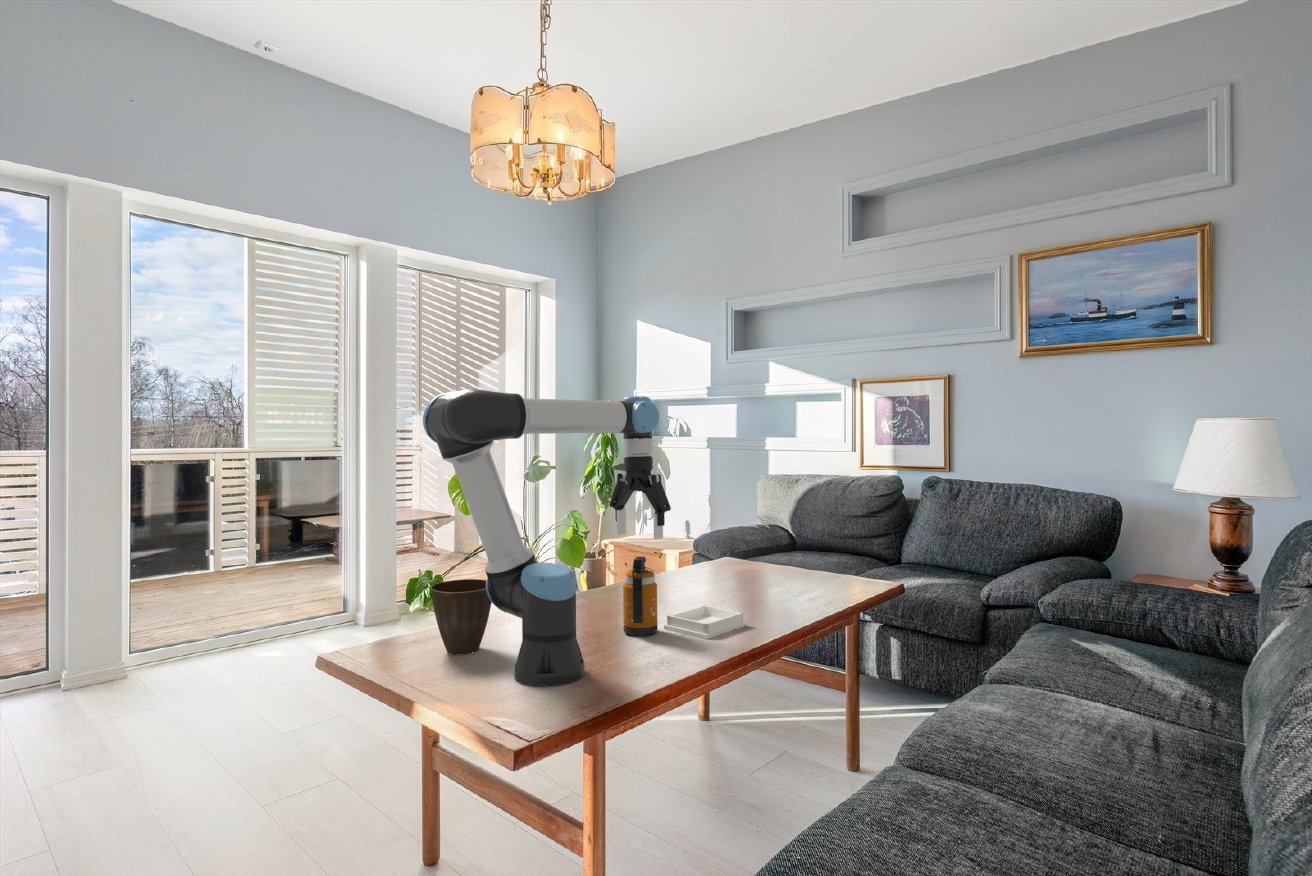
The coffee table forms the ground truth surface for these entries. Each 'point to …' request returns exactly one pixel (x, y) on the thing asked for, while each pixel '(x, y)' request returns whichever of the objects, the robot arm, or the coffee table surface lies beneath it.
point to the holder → (705, 621)
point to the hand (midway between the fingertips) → (639, 536)
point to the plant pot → (461, 613)
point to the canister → (640, 600)
